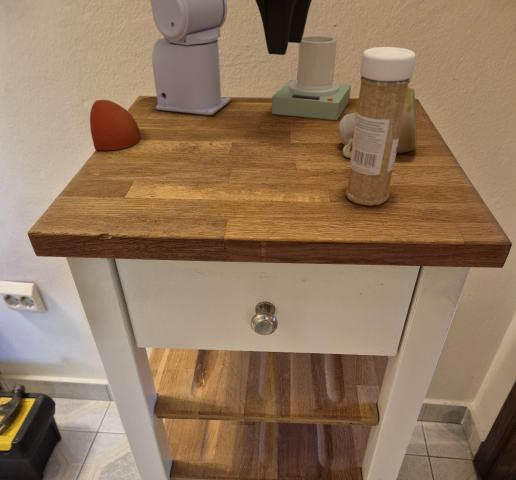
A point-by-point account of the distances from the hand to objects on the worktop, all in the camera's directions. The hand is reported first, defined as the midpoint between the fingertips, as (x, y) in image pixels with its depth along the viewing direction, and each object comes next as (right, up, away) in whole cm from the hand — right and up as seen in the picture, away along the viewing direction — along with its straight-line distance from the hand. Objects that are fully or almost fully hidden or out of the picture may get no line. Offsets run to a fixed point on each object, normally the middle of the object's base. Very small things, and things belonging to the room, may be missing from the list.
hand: (285, 48), depth 61 cm
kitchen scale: (+5, -2, +12) cm, 13 cm away
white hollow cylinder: (+5, +1, +11) cm, 12 cm away
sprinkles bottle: (+8, -23, -11) cm, 27 cm away
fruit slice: (-20, -9, -1) cm, 22 cm away
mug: (+11, -14, -1) cm, 18 cm away
